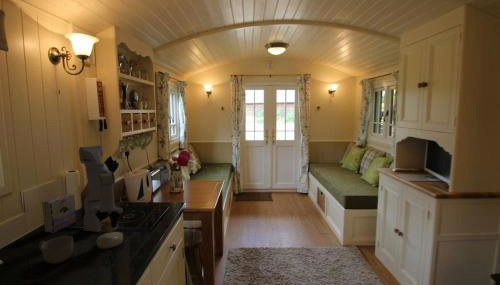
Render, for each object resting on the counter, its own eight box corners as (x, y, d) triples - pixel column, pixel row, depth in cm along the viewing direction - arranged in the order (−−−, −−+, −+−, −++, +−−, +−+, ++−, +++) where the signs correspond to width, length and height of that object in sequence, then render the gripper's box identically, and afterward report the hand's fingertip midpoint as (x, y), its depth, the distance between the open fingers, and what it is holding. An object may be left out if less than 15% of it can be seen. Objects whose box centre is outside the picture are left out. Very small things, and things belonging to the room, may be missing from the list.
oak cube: (101, 231, 123) (100, 221, 123) (109, 227, 128) (108, 217, 128) (110, 232, 122) (109, 222, 122) (118, 228, 127) (117, 218, 127)
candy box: (69, 221, 151) (66, 193, 149) (77, 222, 149) (74, 194, 147) (44, 232, 137) (41, 201, 135) (53, 233, 136) (50, 202, 134)
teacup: (80, 255, 115) (79, 237, 114) (55, 269, 105) (53, 250, 104) (57, 250, 119) (56, 233, 118) (31, 263, 109) (29, 244, 108)
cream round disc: (91, 247, 122) (90, 241, 121) (108, 236, 132) (108, 231, 132) (112, 250, 119) (111, 244, 119) (128, 238, 130) (127, 233, 130)
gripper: (87, 200, 121) (89, 228, 123) (114, 202, 118) (116, 231, 119) (98, 195, 128) (100, 222, 129) (125, 197, 125) (126, 225, 126)
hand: (109, 226), depth 125 cm, fingers closed on oak cube, 5 cm apart
